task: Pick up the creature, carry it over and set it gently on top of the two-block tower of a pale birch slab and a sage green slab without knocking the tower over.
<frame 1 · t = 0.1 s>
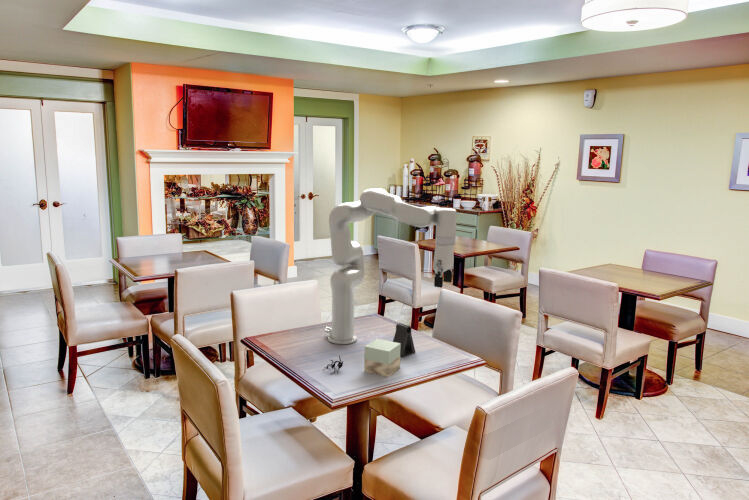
hand: (442, 284, 210), 31 cm above the table, tool pointing down, fingers open, 9 cm apart
tower top: (382, 357, 204), point 5 cm above the table, touching tower base
phone stand: (402, 353, 223), on the table
creature: (332, 371, 202), on the table
tower base: (382, 370, 205), on the table, touching tower top
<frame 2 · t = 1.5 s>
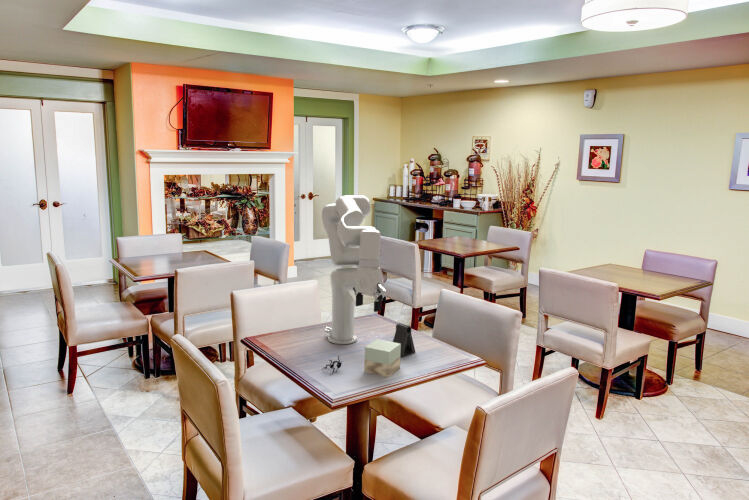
hand: (368, 308, 202), 23 cm above the table, tool pointing down, fingers open, 9 cm apart
nothing on the table moved.
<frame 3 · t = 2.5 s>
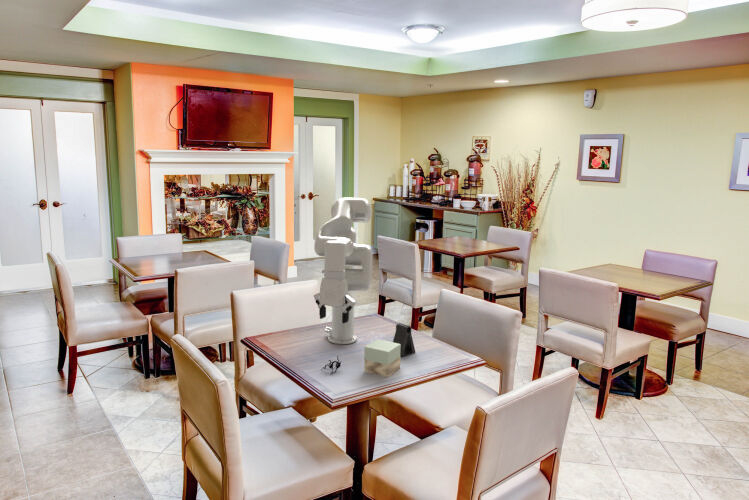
hand: (333, 320, 198), 20 cm above the table, tool pointing down, fingers open, 9 cm apart
nothing on the table moved.
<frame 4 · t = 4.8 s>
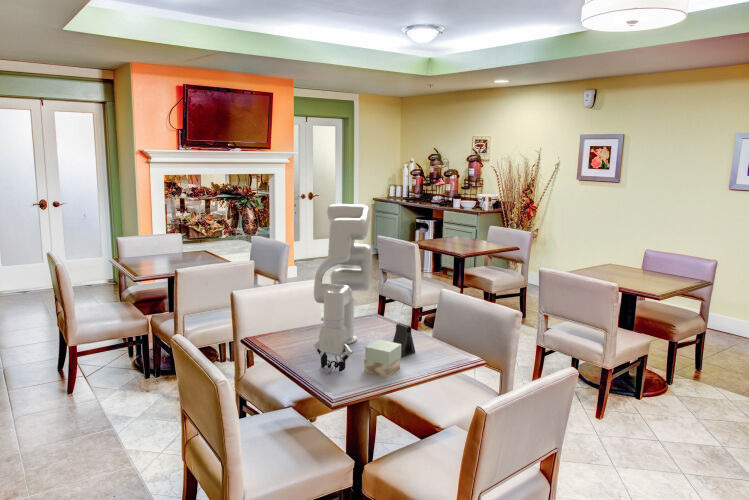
hand: (332, 368, 202), 1 cm above the table, tool pointing down, fingers closed on creature, 7 cm apart
creature: (328, 371, 202), on the table, touching gripper
everything else where it was.
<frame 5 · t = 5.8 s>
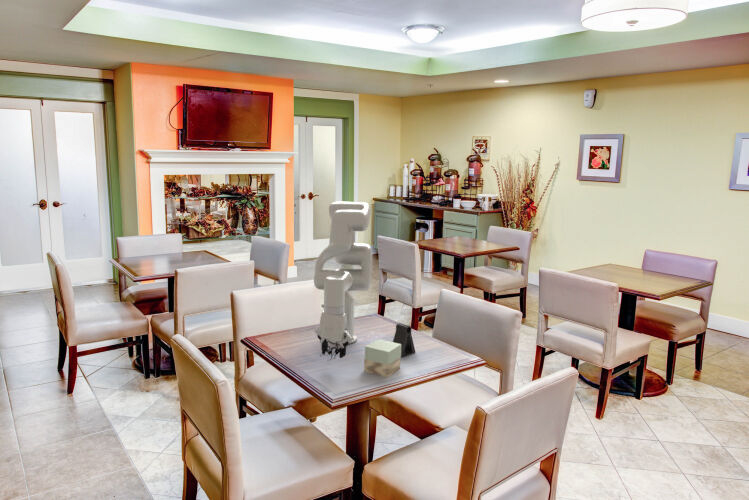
hand: (333, 354, 202), 6 cm above the table, tool pointing down, fingers closed on creature, 7 cm apart
creature: (329, 357, 202), point 5 cm above the table, touching gripper
everything else where it was.
when the fingers open (12 cm above the table, at t = 11.0 s): creature drops 1 cm, resting on tower top.
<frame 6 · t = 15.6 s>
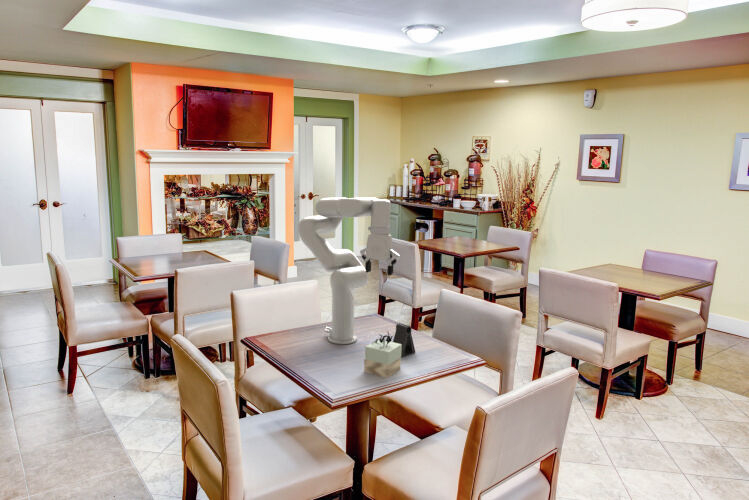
hand: (379, 273, 216), 33 cm above the table, tool pointing down, fingers open, 9 cm apart
tower top: (383, 358, 204), point 5 cm above the table, touching creature, tower base
creature: (381, 346, 202), point 9 cm above the table, touching tower top
everything else where it was.
at the end: creature 1.0 cm off-centre on the tower top, point 4.8 cm above the tower top's base; tower top 0.5 cm from the tower base (horizontally); tower top tilted 0° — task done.
